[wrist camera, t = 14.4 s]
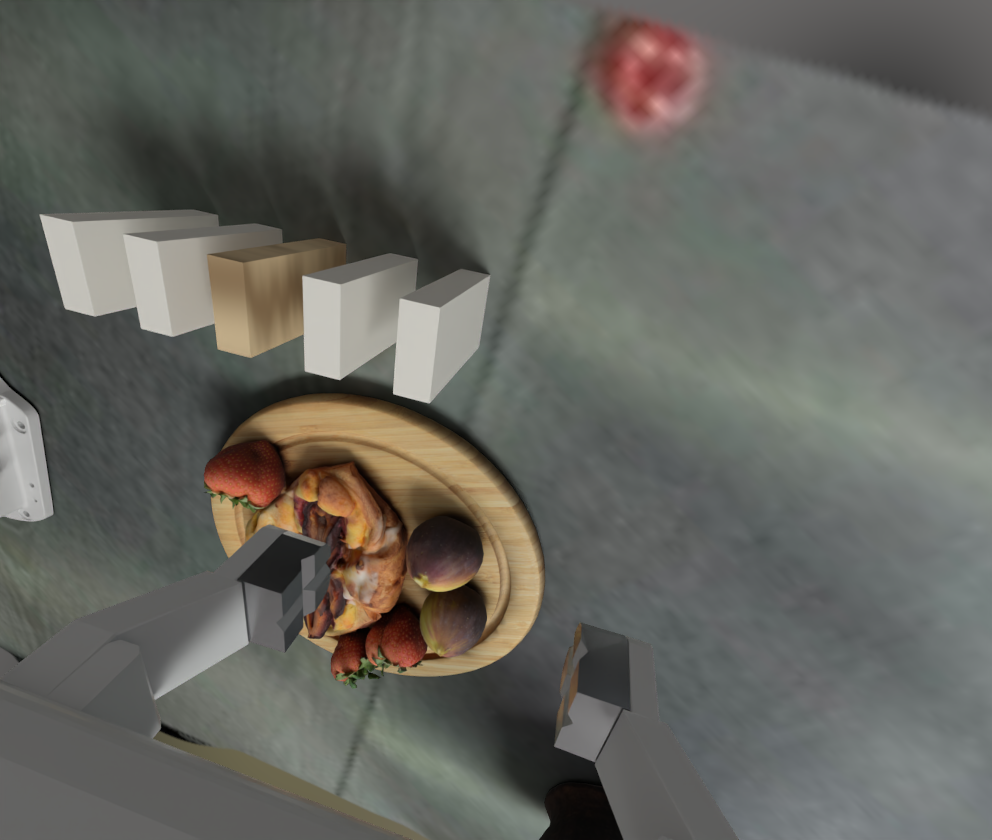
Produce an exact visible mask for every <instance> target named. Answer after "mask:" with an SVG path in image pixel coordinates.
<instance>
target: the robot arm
mask: <svg viewBox="0 0 992 840" xmlns="http://www.w3.org/2000/svg"><path fill="white" fill-rule="evenodd" d="M52 515H53V504H52V498H51V491H50V485H49V478H48V472H47V465H46V459H45V452H44V446H43V439H42V433H41V426H40V420H39V416H38V413H37V412H36V410H35V409H34V408H33V407H32V406H31V405H30V404H29V403H28V402H27V401H26V400H24V399H23V398H22V397H21V396H19V395H18V394H17V393H16V392H14V391H13V390H12V389H11V388H10V387H9V386H8V385H7V384H6V383H5V382H4V381H3V380H2V378H1V377H0V517H2V516H4V517H8V518H12V519H16V520H22V521H39V520H43V519H45V518H47V517H49V516H52ZM330 557H331V550H330V545H328V544H326V543H324V542H321V541H318V540H315V539H312V538H309V537H306V536H303V535H300V534H297V533H294V532H292V531H288V530H285V529H282V528H279V527H276V526H273V525H270V524H269V525H266V526H264V527H262V528H261V529H260V530H258V531H257V532H256V533H255V534H254V535H253V536H252V537H251V538H250V539H249V540H248V541H247V542H246V543H244V544H243V545H242V546H241V547H240V548H239V549H238V550H237V551H236V552H235V553H234V554H233V555H232V556H231V557H229V558H228V559H227V560H226V561H225V562H224V563H223V564H222V565H221V566H220V567H219V568H218V569H217V570H216V571H214V572H213V573H212V572H209V571H206V572H203V573H200V574H198V575H195V576H192V577H189V578H187V579H184V580H181V581H179V582H176V583H173V584H170V585H168V586H165V587H162V588H160V589H157V590H154V591H151V592H149V593H146V594H143V595H141V596H138V597H135V598H132V599H130V600H127V601H124V602H122V603H119V604H116V605H113V606H111V607H108V608H105V609H103V610H100V611H97V612H94V613H92V614H89V615H86V616H84V617H81V618H78V619H75V620H74V621H72V622H71V623H70V624H68V625H67V626H66V627H65V628H63V629H62V630H61V631H60V632H58V633H57V634H56V635H54V636H53V637H52V638H51V639H49V640H48V641H47V642H45V643H44V644H43V645H42V646H40V647H39V648H38V649H36V650H35V651H34V652H33V653H31V654H30V655H29V656H27V657H26V658H25V659H24V660H22V661H21V662H20V663H19V664H17V665H16V666H15V667H14V668H12V669H11V670H10V671H8V672H7V673H6V674H4V675H3V676H2V677H1V678H0V840H412V839H409V838H407V837H403V836H401V835H399V834H396V833H393V832H391V831H389V830H386V829H383V828H381V827H378V826H376V825H373V824H371V823H368V822H365V821H363V820H360V819H358V818H355V817H353V816H350V815H347V814H345V813H342V812H340V811H337V810H335V809H332V808H329V807H327V806H324V805H322V804H319V803H317V802H314V801H311V800H309V799H306V798H304V797H301V796H299V795H296V794H293V793H291V792H288V791H286V790H283V789H281V788H278V787H275V786H273V785H270V784H268V783H265V782H262V781H260V780H257V779H255V778H252V777H250V776H247V775H245V774H242V773H239V772H237V771H234V770H231V769H229V768H226V767H224V766H221V765H219V764H216V763H213V762H211V761H209V760H206V759H203V758H201V757H198V756H196V755H193V754H190V753H188V752H185V751H183V750H180V749H178V748H175V747H172V746H170V745H167V744H165V743H162V742H160V741H157V740H154V739H153V737H154V736H155V735H156V734H157V733H158V731H159V730H160V729H161V719H160V716H159V712H158V709H157V706H156V702H155V699H157V698H159V697H160V696H162V695H164V694H165V693H167V692H169V691H171V690H172V689H174V688H176V687H177V686H179V685H181V684H182V683H184V682H186V681H187V680H189V679H191V678H192V677H194V676H196V675H197V674H199V673H201V672H202V671H204V670H206V669H207V668H209V667H211V666H212V665H214V664H216V663H217V662H219V661H221V660H222V659H224V658H226V657H227V656H229V655H231V654H232V653H234V652H236V651H237V650H239V649H241V648H242V647H244V646H246V645H247V644H248V643H249V642H253V643H256V644H259V645H262V646H265V647H268V648H272V649H275V650H278V651H281V652H284V653H285V652H286V651H287V649H288V648H289V646H290V645H291V644H292V642H293V641H294V640H295V638H296V637H297V635H298V634H299V633H300V631H301V630H302V629H303V617H304V616H306V615H308V614H310V613H312V612H314V611H316V609H317V608H318V606H319V605H320V603H321V602H322V600H323V598H324V596H325V594H326V592H327V589H328V587H329V582H330V575H331V570H330V569H329V567H328V566H327V564H326V562H327V560H328V559H329V558H330ZM560 694H561V696H562V698H563V700H562V703H561V705H560V708H559V711H558V713H557V722H556V732H555V742H554V747H557V748H559V749H562V750H564V751H567V752H570V753H572V754H575V755H578V756H580V757H583V758H586V759H588V760H591V761H593V762H596V763H595V767H596V769H597V772H598V775H599V777H600V780H601V782H602V785H603V788H604V790H605V793H606V795H607V798H608V801H609V803H610V806H611V808H612V811H613V814H614V816H615V819H616V821H617V824H618V827H619V829H620V832H621V834H622V837H623V840H739V839H738V837H737V836H736V834H735V833H734V831H733V829H732V828H731V826H730V825H729V823H728V821H727V820H726V818H725V816H724V815H723V813H722V812H721V810H720V808H719V807H718V805H717V804H716V802H715V800H714V799H713V797H712V795H711V794H710V792H709V791H708V789H707V787H706V786H705V784H704V783H703V781H702V779H701V778H700V776H699V775H698V773H697V771H696V770H695V768H694V766H693V765H692V763H691V762H690V760H689V758H688V757H687V755H686V754H685V752H684V750H683V749H682V747H681V745H680V744H679V742H678V741H677V739H676V737H675V736H674V734H673V733H672V731H671V729H670V728H669V726H668V724H666V723H663V722H660V719H659V709H658V698H657V687H656V677H655V666H654V655H653V648H652V646H651V644H649V643H646V642H643V641H639V640H636V639H633V638H630V637H625V636H624V635H621V634H617V633H614V632H611V631H607V630H604V629H601V628H597V627H594V626H591V625H587V624H584V623H581V622H580V624H579V625H578V627H577V629H576V632H575V637H574V645H573V646H571V647H569V650H568V653H567V656H566V659H565V663H564V667H563V672H562V678H561V685H560Z"/></svg>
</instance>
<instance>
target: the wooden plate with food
mask: <svg viewBox="0 0 992 840" xmlns="http://www.w3.org/2000/svg"><path fill="white" fill-rule="evenodd" d="M204 477H205V480H204V488H206V489H209V490H211V491H208V492H205V493H210V495H211V503H212V511H213V516H214V520H215V525H216V528H217V531H218V534H219V537H220V540H221V542H222V545H223V547H224V549H225V552H226V554H227V556H228V558H229V557H231V556H232V555H233V554H234V553H235V552H236V551H237V550H238V549H239V548H240V547H241V546H242V545H243V544H244V543H246V542H247V541H248V540H249V539H250V538H251V537H252V536H253V535H254V534H255V533H256V532H257V531H258V530H260V529H261V528H262V527H264V526H266V525H269V524H270V525H273V526H276V527H279V528H282V529H285V530H288V531H292V532H294V533H297V534H300V535H303V536H306V537H309V538H312V539H315V540H318V541H321V542H324V543H326V544H328V545H330V550H331V557H330V558H329V559H328V560H327V562H326V564H327V566H328V567H329V569H330V570H331V575H330V582H329V587H328V589H327V592H326V594H325V596H324V598H323V600H322V602H321V603H320V605H319V606H318V608H317V609H316V611H314V612H312V613H310V614H308V615H306V616H304V617H303V629H302V630H301V631H300V633H299V634H300V635H302V636H303V637H305V638H307V639H308V640H310V641H311V642H313V643H315V644H316V645H318V646H320V647H322V648H324V649H326V650H328V651H329V652H331V653H333V655H332V658H331V672H332V674H333V676H334V678H335V680H338V681H344V684H345V686H346V685H348V684H349V683H350V686H351V687H352V688H357V685H356V684H355V682H356V681H357V679H364V678H365V675H367V674H368V678H369V679H374V678H375V679H379V678H380V677H379V676H377V675H376V674H373V673H368V670H369V671H370V672H372V671H373V670H374V669H377V670H381V675H382V676H384V675H383V671H385V672H389V673H394V674H400V675H409V676H446V675H454V674H460V673H465V672H469V671H473V670H476V669H479V668H481V667H484V666H486V665H489V664H491V663H493V662H495V661H497V660H499V659H500V658H502V657H503V656H505V655H506V654H508V653H509V652H510V651H511V650H512V649H514V648H515V647H516V646H517V645H518V644H519V643H520V642H521V641H522V639H523V638H524V637H525V636H526V634H527V633H528V632H529V631H530V629H531V627H532V626H533V624H534V622H535V620H536V618H537V616H538V613H539V610H540V607H541V604H542V599H543V595H544V587H545V564H544V556H543V552H542V548H541V544H540V540H539V537H538V534H537V531H536V528H535V526H534V524H533V521H532V519H531V517H530V515H529V513H528V511H527V509H526V508H525V506H524V504H523V502H522V501H521V499H520V498H519V496H518V495H517V493H516V492H515V490H514V489H513V488H512V486H511V485H510V484H509V482H508V481H507V480H506V479H505V477H504V476H503V475H502V474H501V473H500V472H499V471H498V469H497V468H496V467H495V466H494V465H493V464H492V463H491V462H490V461H489V460H488V459H487V458H486V457H485V456H484V455H482V454H481V453H480V452H479V451H478V450H477V449H476V448H475V447H474V446H472V445H471V444H470V443H468V442H467V441H466V440H464V439H463V438H462V437H460V436H459V435H457V434H456V433H454V432H452V431H451V430H449V429H448V428H446V427H444V426H442V425H441V424H439V423H437V422H435V421H434V420H432V419H430V418H427V417H425V416H423V415H421V414H419V413H417V412H415V411H413V410H410V409H408V408H405V407H402V406H399V405H397V404H393V403H390V402H387V401H383V400H379V399H375V398H371V397H366V396H360V395H352V394H343V393H322V394H309V395H302V396H297V397H293V398H289V399H286V400H283V401H280V402H277V403H274V404H272V405H270V406H267V407H265V408H264V409H262V410H260V411H258V412H257V413H255V414H253V415H252V416H251V417H250V418H248V419H247V420H246V421H245V422H243V423H242V424H241V425H240V426H238V428H237V429H236V430H235V431H234V433H233V434H232V435H231V436H230V438H229V439H228V440H227V442H226V443H225V445H224V447H223V448H222V450H221V451H220V452H219V453H218V454H217V455H216V456H215V457H214V458H213V459H211V460H210V461H209V462H208V463H207V465H206V467H205V473H204Z"/></svg>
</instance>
